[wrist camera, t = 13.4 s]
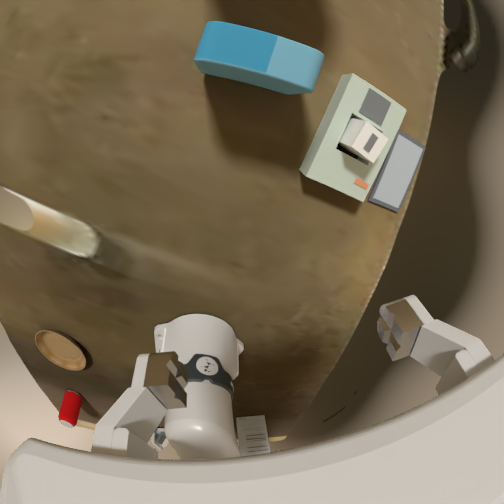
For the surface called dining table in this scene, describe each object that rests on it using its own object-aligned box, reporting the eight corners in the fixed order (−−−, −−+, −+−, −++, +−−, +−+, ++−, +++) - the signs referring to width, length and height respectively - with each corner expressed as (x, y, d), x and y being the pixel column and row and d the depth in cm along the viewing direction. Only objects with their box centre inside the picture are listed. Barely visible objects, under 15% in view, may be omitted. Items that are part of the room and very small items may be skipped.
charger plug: (350, 152, 37) (374, 163, 31) (330, 138, 36) (351, 146, 30) (363, 131, 36) (389, 139, 30) (343, 116, 34) (367, 121, 28)
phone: (395, 210, 44) (398, 212, 43) (366, 198, 42) (369, 200, 41) (422, 145, 38) (426, 146, 37) (394, 128, 36) (398, 129, 35)
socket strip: (353, 194, 41) (363, 202, 38) (299, 169, 38) (306, 176, 35) (393, 108, 34) (407, 110, 31) (342, 74, 31) (353, 73, 28)
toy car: (199, 450, 69) (206, 458, 75) (199, 425, 77) (205, 436, 83) (147, 448, 68) (158, 457, 74) (149, 424, 76) (159, 435, 82)
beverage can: (86, 399, 66) (79, 430, 56) (72, 397, 65) (64, 427, 55) (76, 389, 63) (68, 421, 52) (62, 387, 62) (53, 418, 52)
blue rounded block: (297, 67, 30) (330, 54, 20) (287, 95, 32) (317, 93, 22) (210, 43, 27) (205, 18, 17) (200, 73, 30) (191, 59, 19)
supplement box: (264, 424, 80) (271, 467, 66) (237, 427, 80) (241, 470, 65) (264, 414, 75) (272, 460, 61) (235, 417, 75) (240, 464, 60)
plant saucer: (42, 313, 47) (38, 321, 45) (95, 345, 53) (92, 354, 51) (35, 342, 52) (32, 349, 49) (81, 369, 58) (78, 377, 56)
